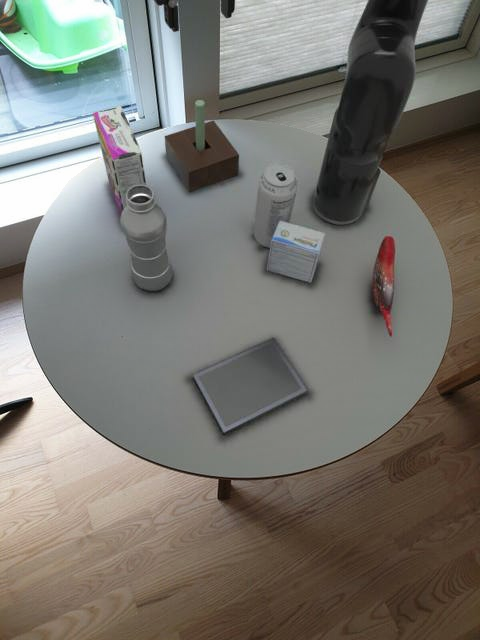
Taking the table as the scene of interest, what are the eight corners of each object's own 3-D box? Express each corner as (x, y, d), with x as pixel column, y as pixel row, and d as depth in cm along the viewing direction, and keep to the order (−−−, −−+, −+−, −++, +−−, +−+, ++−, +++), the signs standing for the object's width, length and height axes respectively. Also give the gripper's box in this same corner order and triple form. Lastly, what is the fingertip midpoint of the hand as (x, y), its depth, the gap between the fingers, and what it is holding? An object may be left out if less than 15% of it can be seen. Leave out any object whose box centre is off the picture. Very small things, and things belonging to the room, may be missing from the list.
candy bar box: (107, 185, 100) (91, 111, 86) (133, 179, 101) (122, 104, 87) (125, 230, 95) (110, 158, 81) (152, 222, 96) (143, 151, 82)
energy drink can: (276, 219, 98) (287, 155, 85) (293, 243, 95) (306, 181, 82) (247, 230, 96) (253, 166, 83) (262, 254, 94) (271, 193, 81)
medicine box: (317, 264, 93) (326, 232, 86) (310, 284, 91) (320, 253, 84) (273, 251, 94) (278, 218, 87) (265, 271, 92) (271, 239, 85)
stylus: (202, 161, 104) (201, 98, 92) (206, 166, 104) (206, 104, 92) (195, 163, 104) (193, 101, 92) (198, 169, 103) (197, 107, 91)
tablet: (272, 341, 85) (273, 337, 84) (306, 393, 81) (308, 390, 80) (192, 378, 81) (192, 374, 80) (223, 435, 77) (223, 432, 76)
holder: (213, 140, 107) (213, 120, 103) (237, 174, 103) (239, 154, 99) (166, 156, 105) (164, 135, 100) (189, 192, 100) (188, 172, 96)
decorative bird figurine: (381, 265, 94) (398, 227, 85) (388, 356, 85) (409, 324, 76) (364, 263, 94) (380, 226, 85) (370, 355, 85) (389, 323, 76)
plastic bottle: (167, 299, 88) (157, 217, 71) (127, 291, 89) (107, 207, 71) (177, 268, 91) (171, 182, 74) (138, 260, 92) (123, 172, 75)
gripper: (157, -85, 62) (166, 48, 76) (265, -106, 66) (255, 24, 80) (131, -113, 65) (145, 19, 79) (236, -132, 69) (231, -2, 83)
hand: (200, 21), depth 80 cm, fingers open, 8 cm apart
